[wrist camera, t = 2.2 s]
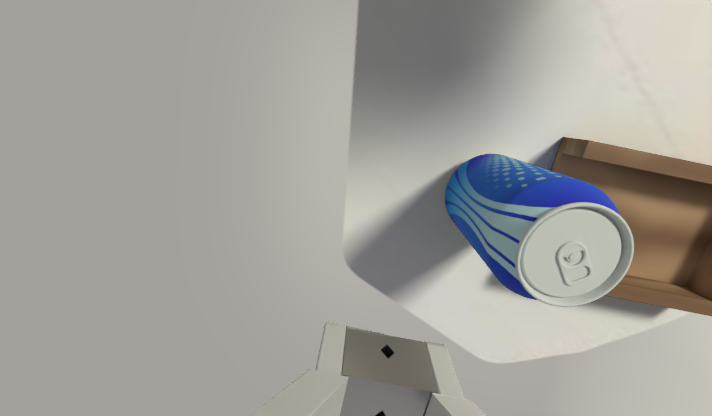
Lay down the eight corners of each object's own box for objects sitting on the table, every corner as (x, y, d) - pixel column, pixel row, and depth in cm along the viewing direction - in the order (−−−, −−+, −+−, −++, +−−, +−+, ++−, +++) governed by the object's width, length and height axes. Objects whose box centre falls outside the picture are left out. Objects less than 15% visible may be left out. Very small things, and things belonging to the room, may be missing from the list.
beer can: (431, 219, 35) (480, 302, 20) (457, 143, 33) (535, 170, 18) (505, 238, 36) (609, 334, 20) (536, 163, 33) (680, 208, 18)
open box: (563, 137, 32) (589, 140, 29) (751, 176, 33) (801, 184, 29) (516, 263, 36) (533, 281, 33) (684, 296, 37) (721, 318, 33)
